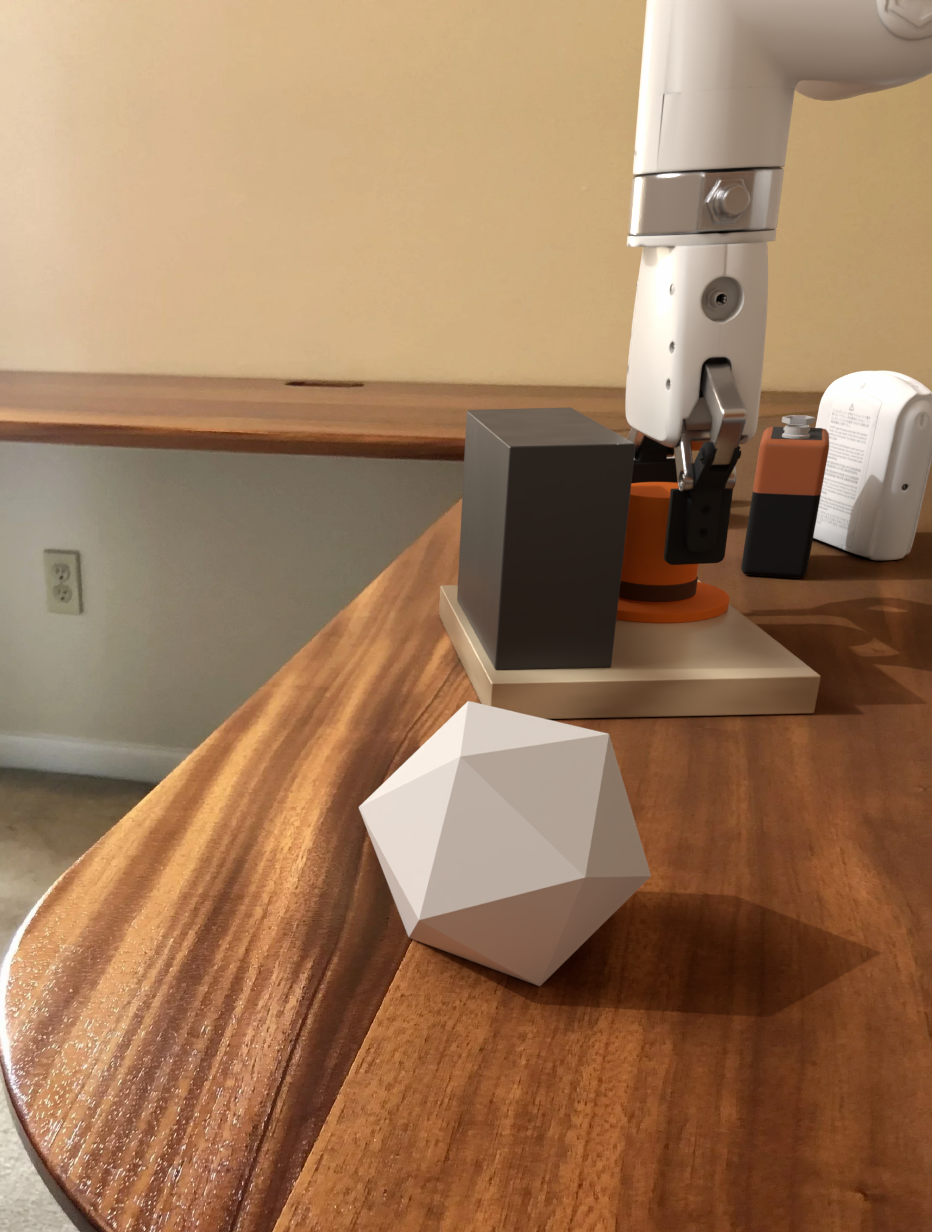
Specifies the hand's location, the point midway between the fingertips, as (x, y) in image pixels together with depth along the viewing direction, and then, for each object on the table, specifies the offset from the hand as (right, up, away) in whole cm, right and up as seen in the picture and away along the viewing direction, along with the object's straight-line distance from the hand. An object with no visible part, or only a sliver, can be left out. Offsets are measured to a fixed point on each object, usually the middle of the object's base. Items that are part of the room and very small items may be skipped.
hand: (668, 543), depth 76 cm
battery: (+13, +3, +17) cm, 22 cm away
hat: (-1, -3, +2) cm, 4 cm away
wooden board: (-4, -7, -1) cm, 8 cm away
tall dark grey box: (-9, -6, -3) cm, 11 cm away
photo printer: (+21, +6, +22) cm, 31 cm away
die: (-16, -23, -30) cm, 41 cm away
